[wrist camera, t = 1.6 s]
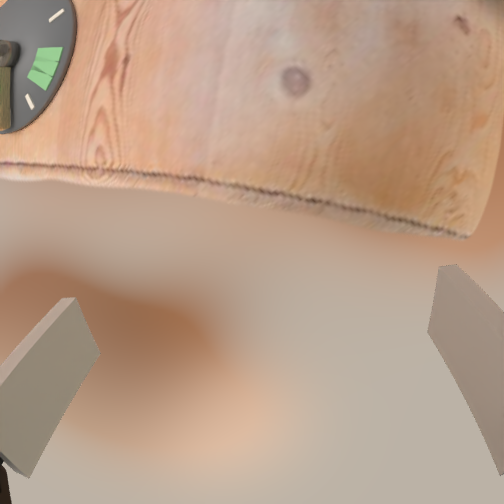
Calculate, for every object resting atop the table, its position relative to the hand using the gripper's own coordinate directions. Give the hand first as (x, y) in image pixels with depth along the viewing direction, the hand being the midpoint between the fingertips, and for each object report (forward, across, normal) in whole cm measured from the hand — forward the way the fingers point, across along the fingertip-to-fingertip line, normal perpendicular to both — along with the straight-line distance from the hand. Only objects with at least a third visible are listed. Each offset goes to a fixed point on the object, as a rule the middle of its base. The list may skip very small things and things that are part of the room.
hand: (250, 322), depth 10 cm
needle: (+23, -31, +20) cm, 43 cm away
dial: (+24, -30, +24) cm, 46 cm away
